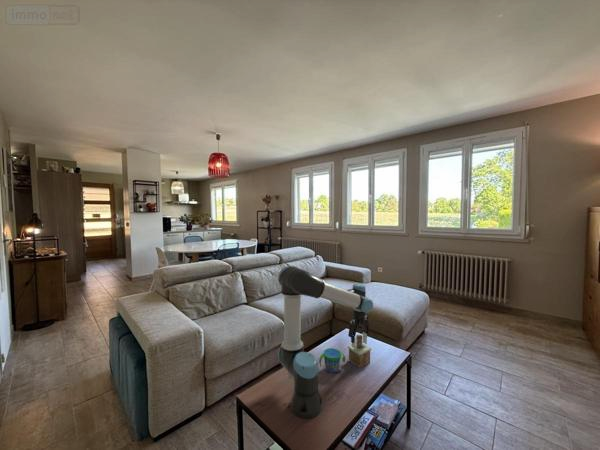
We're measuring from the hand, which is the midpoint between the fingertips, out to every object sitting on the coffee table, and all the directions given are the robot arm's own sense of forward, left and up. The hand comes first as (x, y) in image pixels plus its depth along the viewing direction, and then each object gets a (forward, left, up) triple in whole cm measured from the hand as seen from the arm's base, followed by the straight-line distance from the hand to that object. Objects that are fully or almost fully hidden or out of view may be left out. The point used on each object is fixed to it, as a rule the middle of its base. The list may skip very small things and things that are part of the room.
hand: (359, 345), depth 155 cm
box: (0, 0, -10) cm, 10 cm away
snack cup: (-19, +3, -11) cm, 22 cm away
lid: (0, 0, -2) cm, 2 cm away
